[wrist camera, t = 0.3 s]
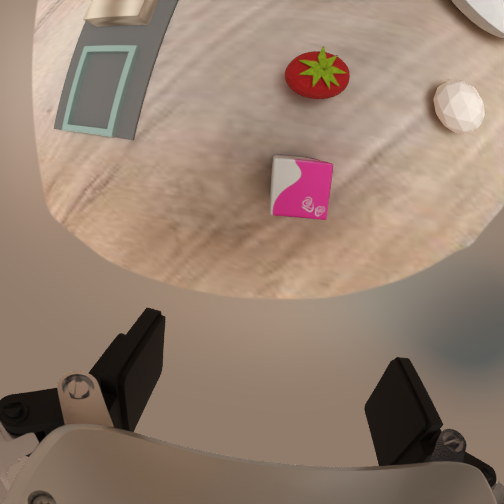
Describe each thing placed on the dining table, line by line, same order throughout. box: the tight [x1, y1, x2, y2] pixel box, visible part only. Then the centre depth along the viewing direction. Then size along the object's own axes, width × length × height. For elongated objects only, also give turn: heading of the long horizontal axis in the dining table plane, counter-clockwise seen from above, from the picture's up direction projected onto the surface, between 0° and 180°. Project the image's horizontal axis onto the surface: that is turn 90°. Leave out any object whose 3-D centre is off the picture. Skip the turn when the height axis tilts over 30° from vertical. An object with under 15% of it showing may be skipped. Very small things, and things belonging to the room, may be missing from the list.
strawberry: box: [285, 46, 350, 99], centre depth 29 cm, size 6×8×10 cm
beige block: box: [84, 0, 159, 27], centre depth 29 cm, size 10×6×4 cm, turn 75°
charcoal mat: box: [54, 0, 178, 140], centre depth 33 cm, size 26×16×1 cm, turn 165°
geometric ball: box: [433, 80, 485, 134], centre depth 29 cm, size 8×8×8 cm
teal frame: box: [62, 45, 140, 137], centre depth 35 cm, size 14×10×1 cm
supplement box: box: [270, 155, 333, 220], centre depth 33 cm, size 6×6×12 cm
